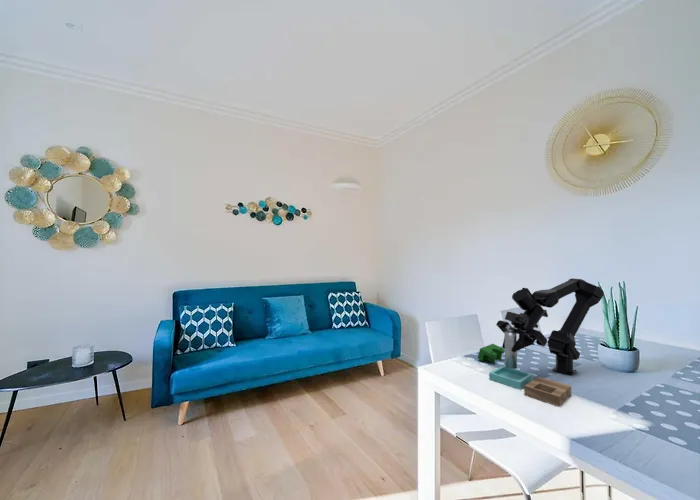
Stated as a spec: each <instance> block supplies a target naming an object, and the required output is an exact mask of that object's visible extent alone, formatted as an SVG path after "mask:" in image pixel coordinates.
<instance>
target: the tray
mask: <svg viewBox="0 0 700 500" xmlns="http://www.w3.org/2000/svg"><path fill="white" fill-rule="evenodd" d="M488 376H489V377H488V379H489V380H490V381H493V382H497V383H499V384H502V385H504V386H505V385H506V386H508V387H511V388H514V389H518V390H520V391H521V390H522V389H524V386H525V385H526V384H528V383H529V382H531V381H532V380H534V375H533V374H532V373H530V372H525V371H523V370H519V369H517V368H516V369H510V368H507V367H505V365H501V366H499V367H497V368H495V369H493V370H491V371H490V372H489V373H488Z"/></svg>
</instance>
